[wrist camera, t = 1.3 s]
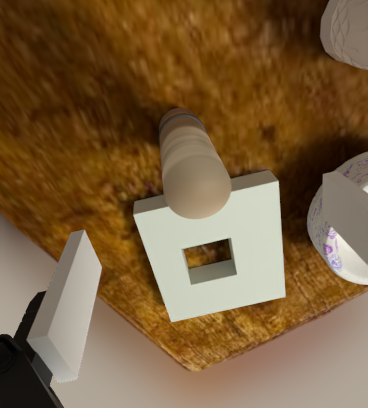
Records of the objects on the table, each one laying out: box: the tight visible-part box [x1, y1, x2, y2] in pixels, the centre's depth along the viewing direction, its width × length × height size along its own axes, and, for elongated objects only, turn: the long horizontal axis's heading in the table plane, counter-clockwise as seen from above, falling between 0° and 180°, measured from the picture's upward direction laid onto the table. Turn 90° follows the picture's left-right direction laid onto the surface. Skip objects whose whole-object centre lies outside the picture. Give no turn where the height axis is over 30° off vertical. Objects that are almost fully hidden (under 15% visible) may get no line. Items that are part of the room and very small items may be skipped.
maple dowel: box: [158, 108, 232, 219], centre depth 25 cm, size 5×5×14 cm
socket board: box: [133, 170, 285, 322], centre depth 38 cm, size 18×16×3 cm
